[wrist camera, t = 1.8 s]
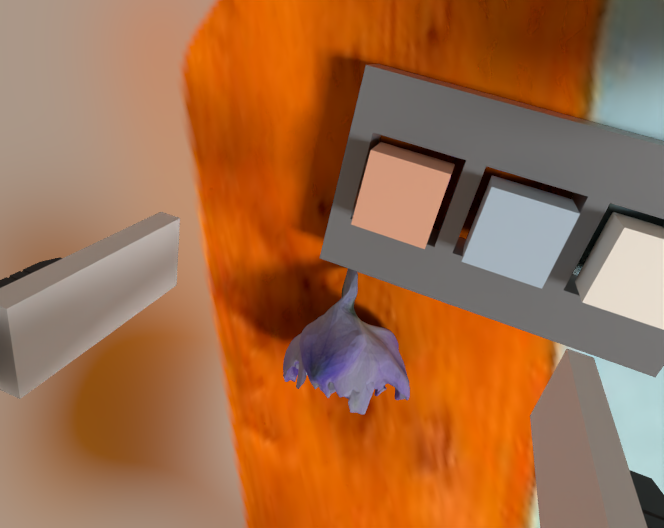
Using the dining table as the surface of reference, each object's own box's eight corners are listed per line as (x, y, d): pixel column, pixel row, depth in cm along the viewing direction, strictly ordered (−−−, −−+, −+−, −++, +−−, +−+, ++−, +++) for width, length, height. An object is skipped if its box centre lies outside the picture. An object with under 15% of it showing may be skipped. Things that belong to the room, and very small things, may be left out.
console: (377, 63, 28) (365, 64, 25) (763, 168, 24) (795, 181, 22) (333, 242, 33) (319, 258, 31) (641, 348, 30) (655, 377, 27)
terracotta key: (381, 141, 27) (370, 149, 25) (455, 164, 26) (451, 174, 24) (362, 211, 29) (350, 224, 27) (430, 233, 28) (424, 249, 26)
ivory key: (612, 211, 25) (624, 227, 23) (700, 238, 24) (722, 257, 22) (574, 281, 27) (582, 302, 25) (654, 307, 26) (670, 332, 24)
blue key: (491, 175, 26) (491, 186, 24) (572, 199, 25) (580, 213, 23) (464, 244, 28) (461, 261, 26) (538, 269, 27) (541, 288, 25)
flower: (252, 273, 28) (283, 441, 27) (390, 245, 29) (427, 409, 27) (270, 287, 38) (294, 412, 36) (375, 265, 38) (402, 389, 37)
